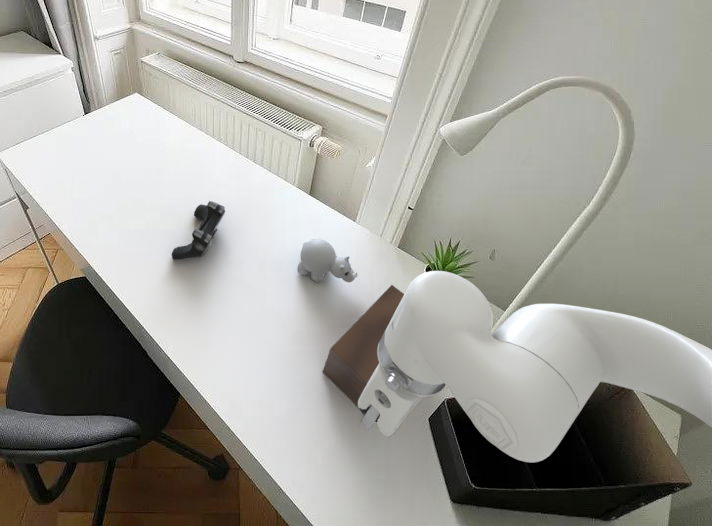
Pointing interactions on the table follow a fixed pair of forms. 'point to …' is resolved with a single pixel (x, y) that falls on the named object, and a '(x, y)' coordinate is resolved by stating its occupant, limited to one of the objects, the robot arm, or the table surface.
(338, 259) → the round bodied animal figurine
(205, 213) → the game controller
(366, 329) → the cabinet
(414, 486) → the table surface
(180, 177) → the table surface
